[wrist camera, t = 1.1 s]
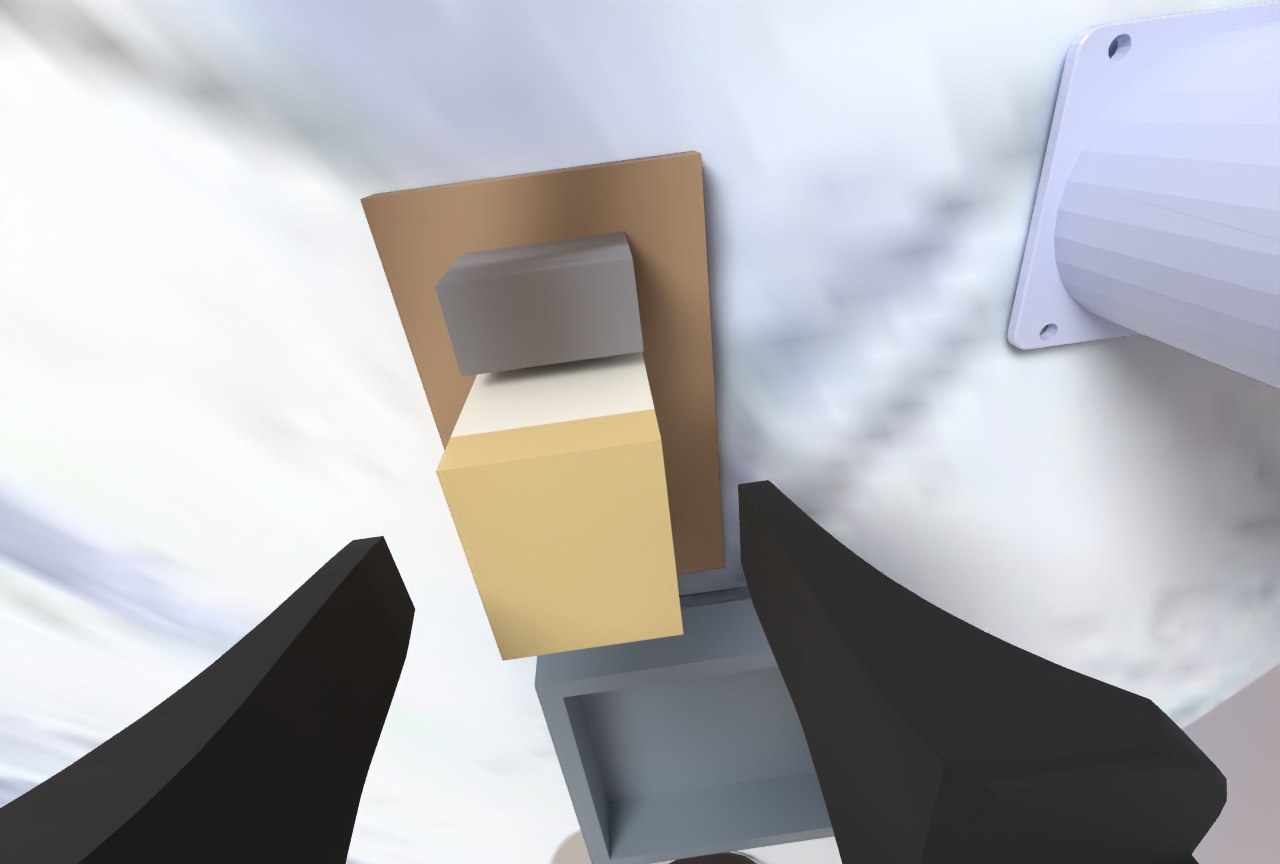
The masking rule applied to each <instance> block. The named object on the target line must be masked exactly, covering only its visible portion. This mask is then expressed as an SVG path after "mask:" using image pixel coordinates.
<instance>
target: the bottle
mask: <svg viewBox="0 0 1280 864" xmlns="http://www.w3.org/2000/svg"><path fill="white" fill-rule="evenodd" d="M670 864H757V863H755V862H754V861H752V860H750V859H749V858H747V857H745V856H742V855H738V854H734V853H730V852H724V853H717V854H710V855H703V856H697V857H690V858H683V859H677V860H676V861H674V862H671V863H670Z"/></svg>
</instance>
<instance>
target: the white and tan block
mask: <svg viewBox="0 0 1280 864" xmlns="http://www.w3.org/2000/svg"><path fill="white" fill-rule="evenodd" d="M436 473H437V476H438V478H439V481H440V484H441V487H442V490H443V493H444V495H445V498H446V501H447V504H448V507H449V510H450V512H451V515H452V518H453V521H454V524H455V527H456V529H457V532H458V535H459V538H460V541H461V544H462V546H463V549H464V552H465V555H466V558H467V561H468V563H469V566H470V569H471V572H472V575H473V578H474V580H475V583H476V586H477V589H478V592H479V595H480V597H481V600H482V603H483V606H484V609H485V612H486V614H487V617H488V620H489V623H490V626H491V629H492V631H493V634H494V637H495V640H496V643H497V646H498V648H499V651H500V654H501V657H502V660H509V659H516V658H523V657H530V656H537V655H544V654H551V653H558V652H565V651H572V650H578V649H585V648H592V647H599V646H606V645H613V644H620V643H627V642H634V641H641V640H648V639H655V638H662V637H669V636H675V635H682V634H683V626H682V617H681V608H680V600H679V591H678V582H677V573H676V565H675V556H674V547H673V538H672V530H671V521H670V512H669V503H668V494H667V486H666V477H665V468H664V459H663V451H662V442H661V436H660V432H659V427H658V423H657V418H656V414H655V409H654V405H653V400H652V395H651V391H650V386H649V382H648V377H647V373H646V368H645V364H644V359H643V355H642V352H636V353H628V354H621V355H614V356H607V357H600V358H592V359H585V360H578V361H571V362H564V363H556V364H549V365H542V366H535V367H528V368H520V369H513V370H506V371H499V372H492V373H484V374H477V376H476V379H475V381H474V383H473V386H472V388H471V390H470V393H469V395H468V397H467V400H466V402H465V404H464V407H463V409H462V412H461V414H460V416H459V419H458V421H457V423H456V426H455V428H454V430H453V433H452V435H451V437H450V440H449V442H448V444H447V447H446V449H445V451H444V454H443V456H442V458H441V461H440V463H439V466H438V468H437V470H436Z"/></svg>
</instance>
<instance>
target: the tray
mask: <svg viewBox="0 0 1280 864" xmlns="http://www.w3.org/2000/svg"><path fill="white" fill-rule="evenodd" d="M679 600H680V608H681V617H682V626H683V634H682V635H675V636H669V637H662V638H655V639H648V640H641V641H634V642H627V643H620V644H613V645H606V646H599V647H592V648H585V649H578V650H572V651H565V652H558V653H551V654H544V655H538V656H537V667H536V677H535V688H536V692H537V695H538V698H539V701H540V704H541V707H542V710H543V713H544V716H545V719H546V723H547V726H548V729H549V732H550V735H551V738H552V741H553V744H554V747H555V751H556V754H557V757H558V760H559V763H560V766H561V769H562V772H563V775H564V779H565V782H566V785H567V788H568V791H569V794H570V797H571V800H572V803H573V806H574V810H575V813H576V816H577V819H578V822H579V825H580V828H581V831H582V834H583V838H584V840H585V844H586V847H587V850H588V853H589V856H590V859H591V862H592V864H649V863H656V862H663V861H670V860H676V859H683V858H690V857H697V856H703V855H710V854H717V853H724V852H730V851H737V850H744V849H750V848H757V847H764V846H771V845H777V844H784V843H791V842H798V841H804V840H811V839H818V838H825V837H831V836H835V835H834V832H833V828H832V825H831V822H830V818H829V815H828V811H827V808H826V804H825V801H824V798H823V794H822V791H821V787H820V784H819V780H818V777H817V774H816V771H815V767H814V764H813V761H812V758H811V754H810V751H809V748H808V744H807V741H806V738H805V735H804V731H803V728H802V725H801V723H800V720H799V717H798V714H797V712H796V709H795V706H794V704H793V701H792V699H791V696H790V694H789V691H788V689H787V687H786V684H785V682H784V679H783V677H782V674H781V672H780V670H779V667H778V665H777V662H776V660H775V657H774V655H773V653H772V650H771V648H770V645H769V643H768V640H767V638H766V635H765V633H764V631H763V628H762V626H761V623H760V621H759V618H758V616H757V613H756V611H755V608H754V606H753V602H752V599H751V595H750V592H749V588H748V587H743V588H736V589H729V590H722V591H715V592H708V593H702V594H695V595H688V596H681V597H679Z"/></svg>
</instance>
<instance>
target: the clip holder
mask: <svg viewBox="0 0 1280 864" xmlns="http://www.w3.org/2000/svg"><path fill="white" fill-rule="evenodd" d="M360 200H361V203H362V206H363V209H364V212H365V215H366V218H367V221H368V224H369V227H370V230H371V233H372V236H373V239H374V242H375V245H376V248H377V251H378V253H379V256H380V259H381V262H382V265H383V268H384V271H385V274H386V277H387V280H388V283H389V286H390V289H391V292H392V295H393V298H394V301H395V304H396V307H397V310H398V313H399V316H400V319H401V322H402V325H403V328H404V331H405V334H406V337H407V340H408V343H409V346H410V349H411V352H412V355H413V358H414V361H415V364H416V366H417V369H418V372H419V375H420V378H421V381H422V384H423V387H424V390H425V393H426V396H427V399H428V402H429V405H430V408H431V411H432V414H433V417H434V420H435V423H436V426H437V429H438V432H439V435H440V438H441V441H442V444H443V447H444V450H445V449H446V447H447V444H448V442H449V440H450V437H451V435H452V433H453V430H454V428H455V426H456V423H457V421H458V419H459V416H460V414H461V412H462V409H463V407H464V404H465V402H466V400H467V397H468V395H469V393H470V390H471V388H472V386H473V383H474V381H475V379H476V376H477V374H484V373H492V372H499V371H506V370H513V369H520V368H528V367H535V366H542V365H549V364H556V363H564V362H571V361H578V360H585V359H592V358H600V357H607V356H614V355H621V354H628V353H636V352H642V355H643V359H644V364H645V368H646V373H647V377H648V382H649V386H650V391H651V395H652V400H653V405H654V409H655V414H656V418H657V423H658V427H659V432H660V436H661V442H662V451H663V459H664V468H665V477H666V486H667V494H668V503H669V512H670V521H671V530H672V538H673V547H674V556H675V565H676V573H677V574H684V573H691V572H698V571H705V570H712V569H719V568H725V563H724V545H723V528H722V510H721V493H720V476H719V458H718V441H717V423H716V406H715V388H714V371H713V354H712V336H711V319H710V301H709V284H708V266H707V249H706V232H705V214H704V197H703V179H702V162H701V153H699V152H696V151H689V152H681V153H674V154H666V155H659V156H652V157H644V158H637V159H629V160H622V161H615V162H607V163H600V164H593V165H585V166H578V167H570V168H563V169H556V170H548V171H541V172H533V173H526V174H519V175H511V176H504V177H497V178H489V179H482V180H474V181H467V182H460V183H452V184H445V185H438V186H430V187H423V188H415V189H408V190H401V191H393V192H386V193H378V194H373V195H371V196H368V197H365V198H363V199H360Z"/></svg>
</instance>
